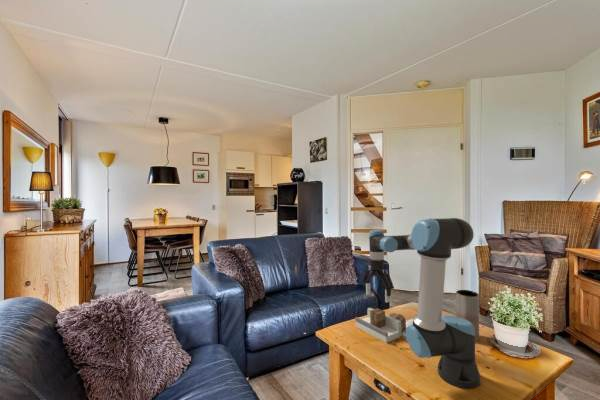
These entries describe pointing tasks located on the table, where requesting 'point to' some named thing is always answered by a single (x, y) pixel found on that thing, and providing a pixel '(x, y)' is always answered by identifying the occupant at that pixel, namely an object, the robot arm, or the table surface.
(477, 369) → the robot arm
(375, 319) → the brown block
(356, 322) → the board
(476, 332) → the planter
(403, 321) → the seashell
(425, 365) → the table surface
